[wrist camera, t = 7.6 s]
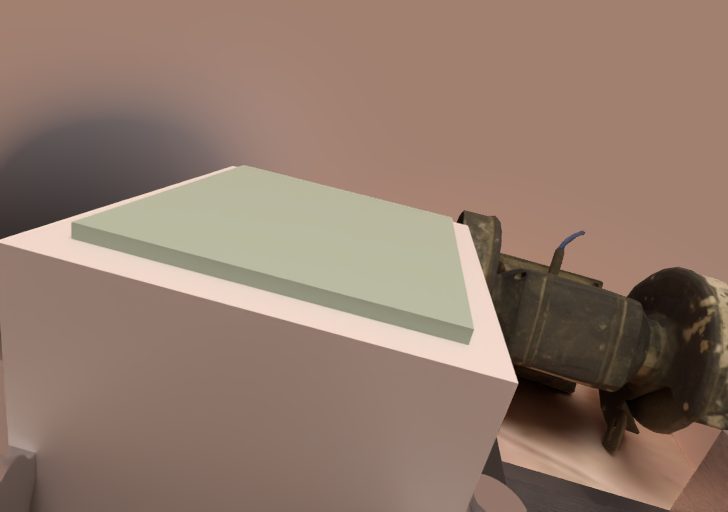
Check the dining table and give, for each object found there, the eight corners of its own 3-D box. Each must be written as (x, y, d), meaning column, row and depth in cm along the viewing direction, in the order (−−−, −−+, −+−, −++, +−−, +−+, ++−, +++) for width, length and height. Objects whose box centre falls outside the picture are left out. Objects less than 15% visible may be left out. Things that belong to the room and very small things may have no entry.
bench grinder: (733, 527, 28) (809, 230, 30) (399, 398, 30) (491, 130, 32) (591, 439, 48) (642, 265, 50) (396, 365, 50) (453, 201, 52)
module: (368, 539, 13) (470, 217, 10) (323, 855, 8) (525, 366, 4) (194, 487, 14) (233, 157, 10) (29, 756, 8) (-7, 223, 5)
